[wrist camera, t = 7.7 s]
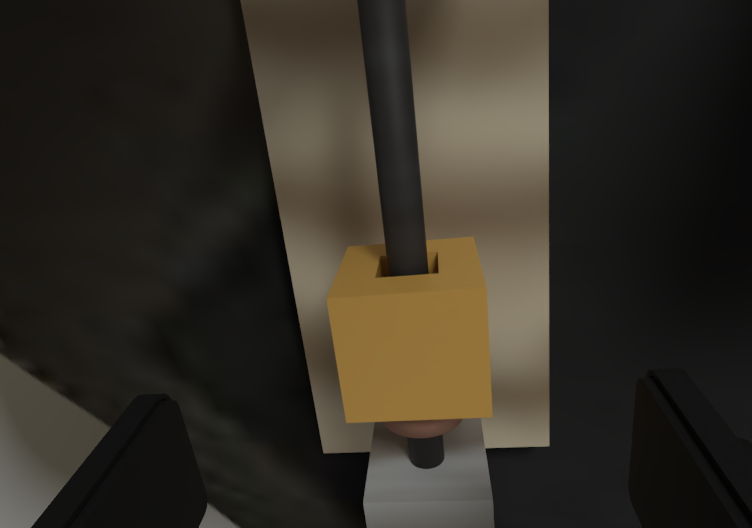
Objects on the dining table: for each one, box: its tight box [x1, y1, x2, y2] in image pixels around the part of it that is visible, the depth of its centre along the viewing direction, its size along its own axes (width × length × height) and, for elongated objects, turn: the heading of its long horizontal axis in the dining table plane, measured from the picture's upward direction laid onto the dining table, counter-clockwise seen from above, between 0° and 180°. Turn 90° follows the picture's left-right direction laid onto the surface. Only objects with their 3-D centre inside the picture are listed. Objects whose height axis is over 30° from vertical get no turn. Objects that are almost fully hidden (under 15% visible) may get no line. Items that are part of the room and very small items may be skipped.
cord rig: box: [240, 0, 549, 528], centre depth 17 cm, size 23×10×9 cm, turn 7°
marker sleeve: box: [326, 237, 493, 423], centre depth 17 cm, size 4×4×4 cm
